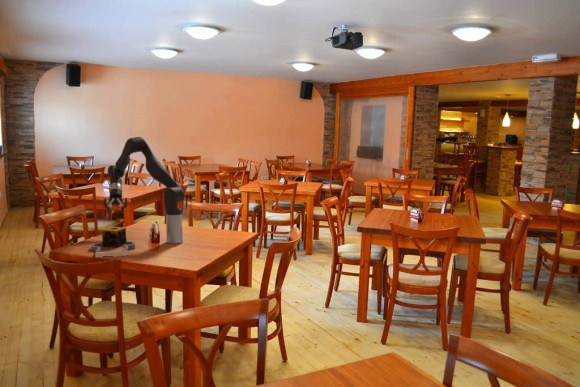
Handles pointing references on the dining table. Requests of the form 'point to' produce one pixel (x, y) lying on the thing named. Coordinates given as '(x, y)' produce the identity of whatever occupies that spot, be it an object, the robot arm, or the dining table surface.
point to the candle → (114, 237)
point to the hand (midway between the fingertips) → (115, 213)
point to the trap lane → (98, 247)
